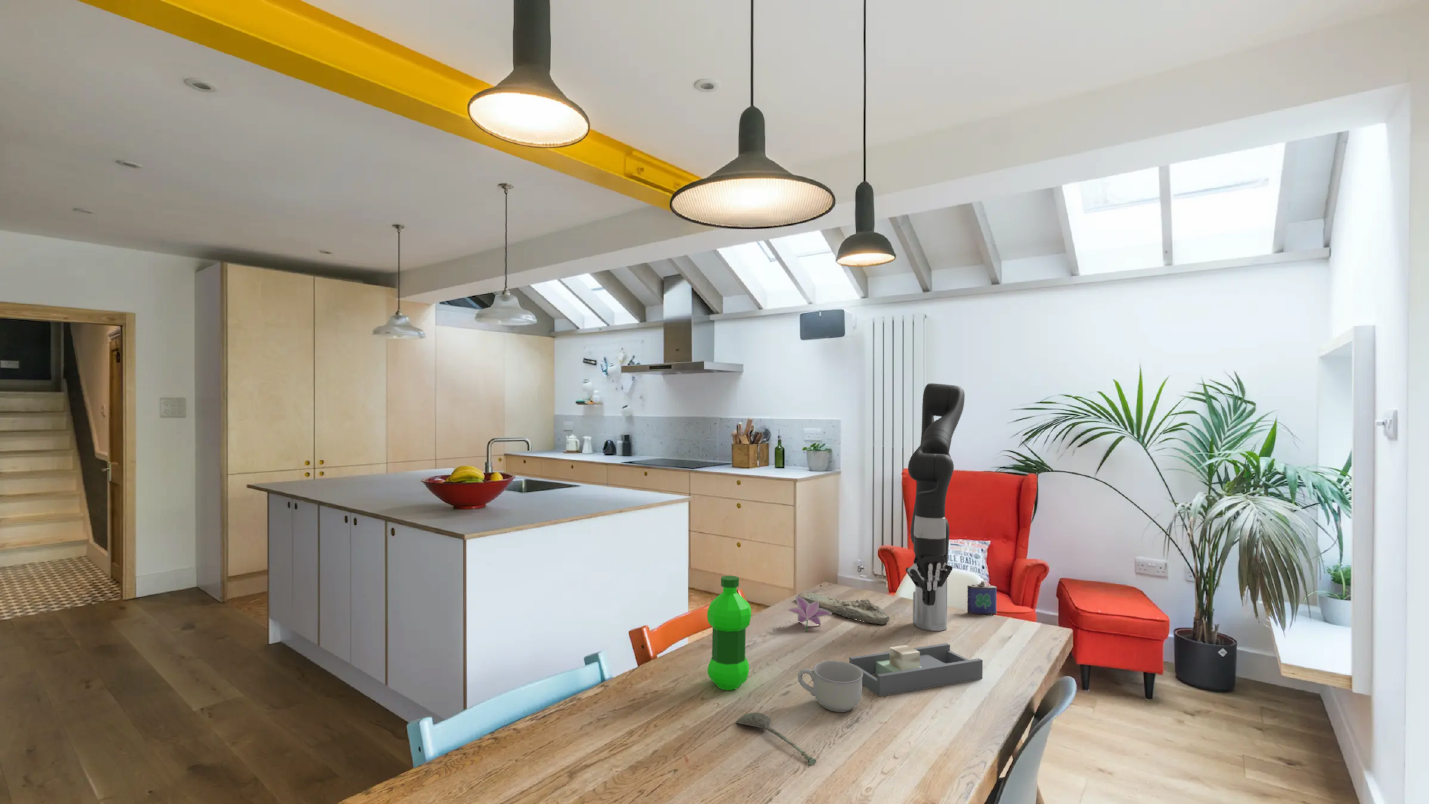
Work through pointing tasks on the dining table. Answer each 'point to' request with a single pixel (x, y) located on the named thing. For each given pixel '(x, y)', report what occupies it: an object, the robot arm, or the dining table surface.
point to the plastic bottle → (729, 636)
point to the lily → (809, 611)
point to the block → (904, 657)
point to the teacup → (834, 684)
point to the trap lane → (917, 670)
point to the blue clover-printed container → (981, 599)
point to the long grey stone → (849, 608)
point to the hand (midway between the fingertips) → (928, 604)
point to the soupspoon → (765, 722)
